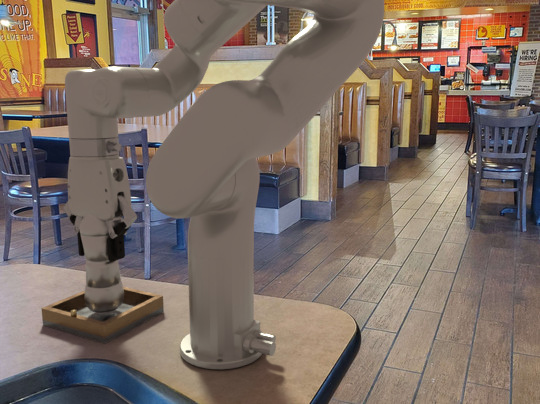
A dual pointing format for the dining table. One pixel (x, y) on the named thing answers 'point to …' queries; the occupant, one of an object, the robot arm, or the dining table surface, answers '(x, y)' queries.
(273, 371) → the dining table surface
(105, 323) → the collar base
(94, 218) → the plastic bottle
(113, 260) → the robot arm
